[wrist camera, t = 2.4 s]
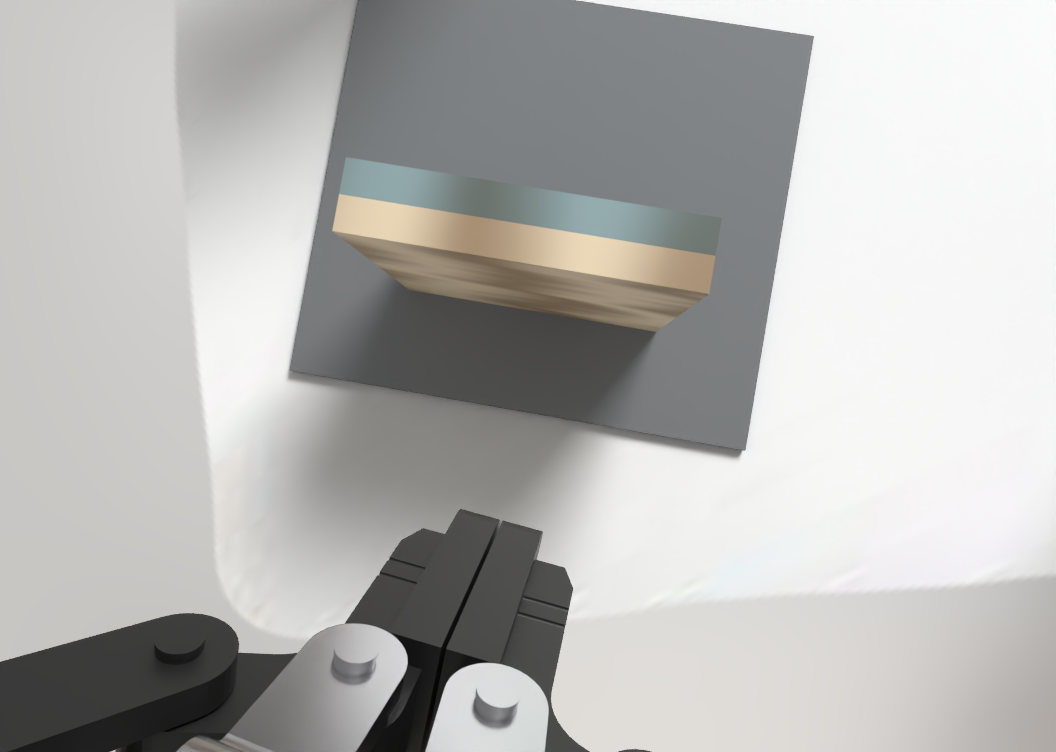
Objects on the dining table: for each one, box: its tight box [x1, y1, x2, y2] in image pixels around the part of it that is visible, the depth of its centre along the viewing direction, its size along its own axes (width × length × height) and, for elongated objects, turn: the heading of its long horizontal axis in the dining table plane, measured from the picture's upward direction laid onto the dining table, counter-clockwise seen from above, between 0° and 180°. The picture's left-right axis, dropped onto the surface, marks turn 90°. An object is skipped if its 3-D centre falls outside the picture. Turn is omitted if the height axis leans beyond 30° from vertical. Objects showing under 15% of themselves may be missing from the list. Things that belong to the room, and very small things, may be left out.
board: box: [332, 157, 722, 332], centre depth 29 cm, size 12×2×12 cm, turn 80°
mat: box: [290, 0, 814, 450], centre depth 35 cm, size 22×20×1 cm
